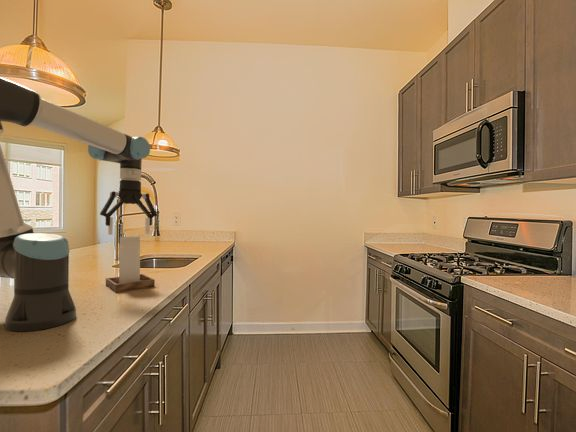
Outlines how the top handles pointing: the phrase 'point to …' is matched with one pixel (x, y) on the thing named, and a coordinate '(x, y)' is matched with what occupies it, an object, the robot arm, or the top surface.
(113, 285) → the tray
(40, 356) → the top surface
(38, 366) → the top surface
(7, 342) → the top surface
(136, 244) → the milk carton
